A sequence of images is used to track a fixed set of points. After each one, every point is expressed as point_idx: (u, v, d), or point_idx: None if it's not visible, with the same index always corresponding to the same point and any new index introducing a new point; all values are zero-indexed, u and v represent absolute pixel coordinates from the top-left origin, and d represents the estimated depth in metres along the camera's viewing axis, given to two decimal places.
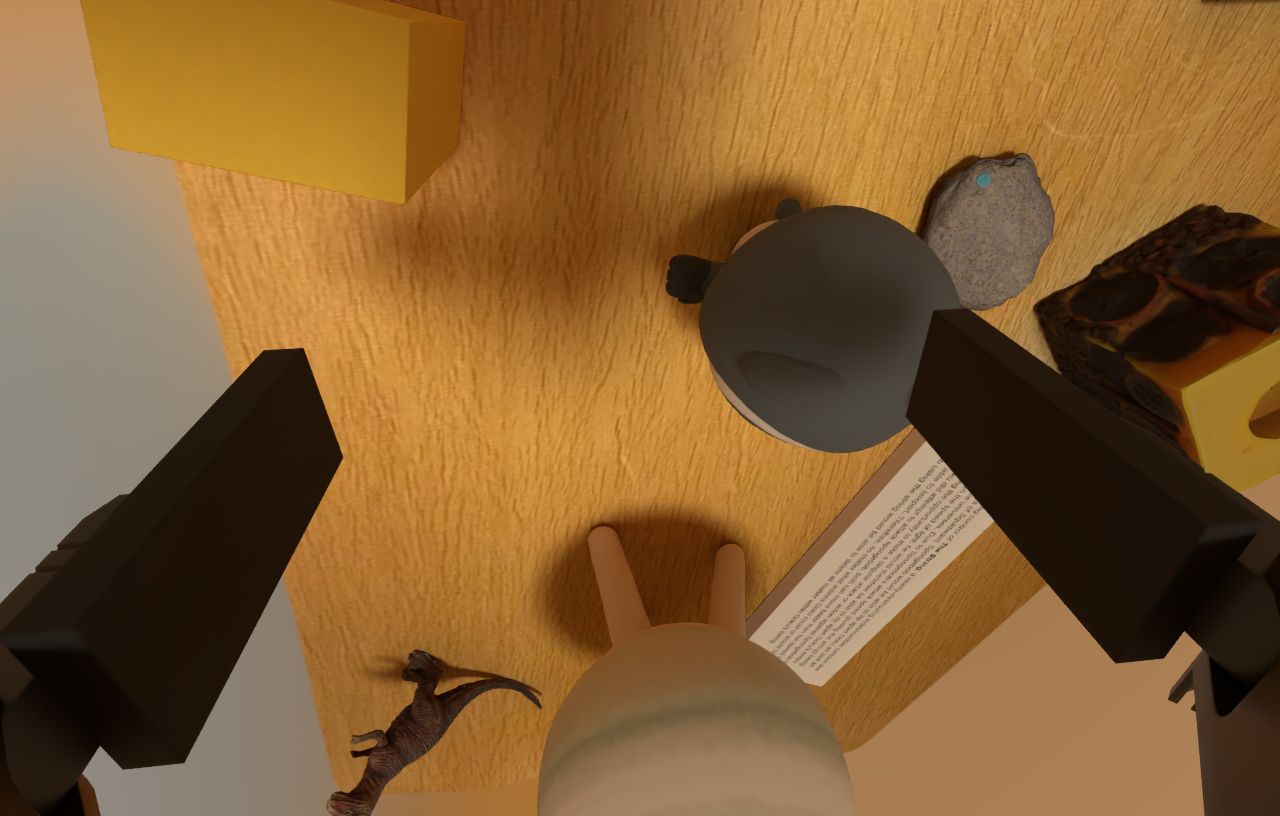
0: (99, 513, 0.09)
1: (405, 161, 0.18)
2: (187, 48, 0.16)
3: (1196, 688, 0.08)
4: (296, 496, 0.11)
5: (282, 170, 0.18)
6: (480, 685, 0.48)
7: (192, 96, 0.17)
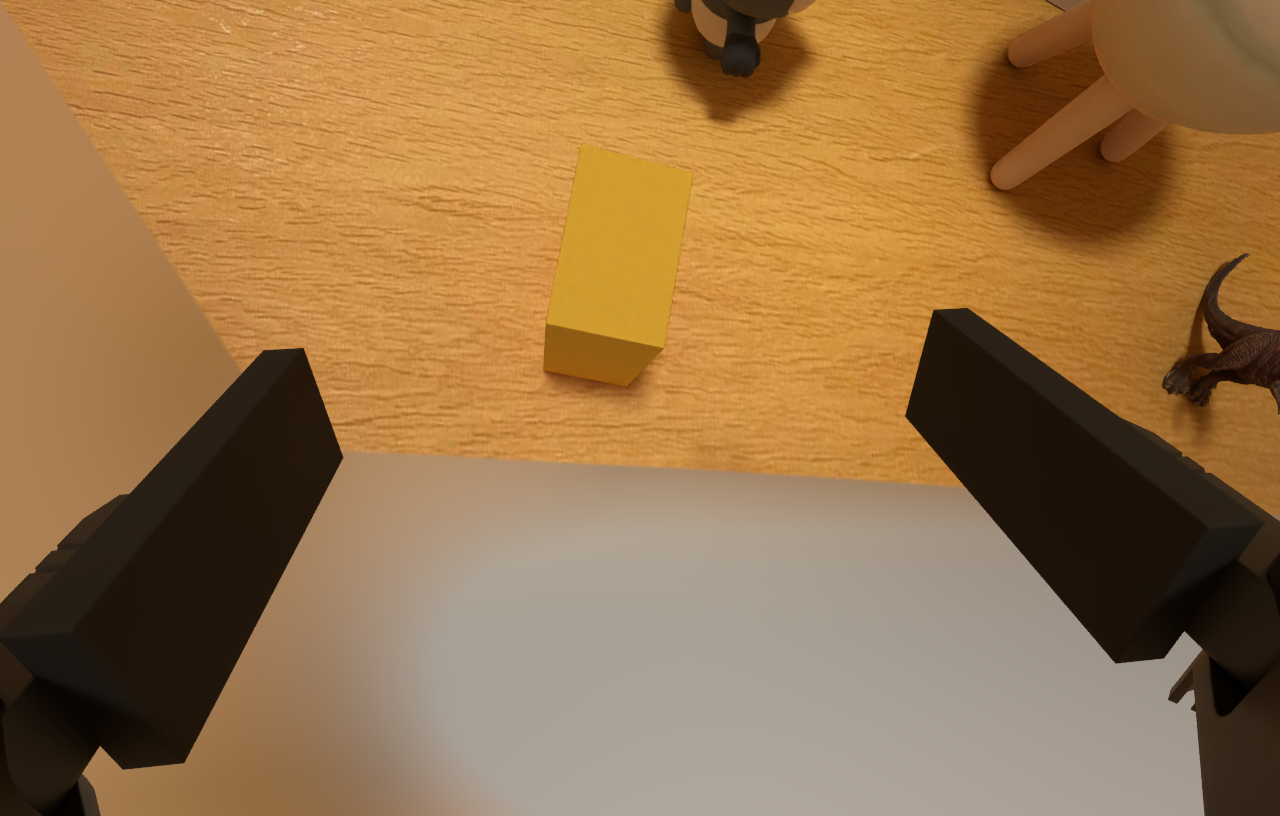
0: (99, 514, 0.09)
1: (664, 165, 0.26)
2: (603, 278, 0.25)
3: (1196, 688, 0.08)
4: (296, 496, 0.11)
5: (673, 244, 0.26)
6: (1211, 315, 0.42)
7: (630, 285, 0.25)
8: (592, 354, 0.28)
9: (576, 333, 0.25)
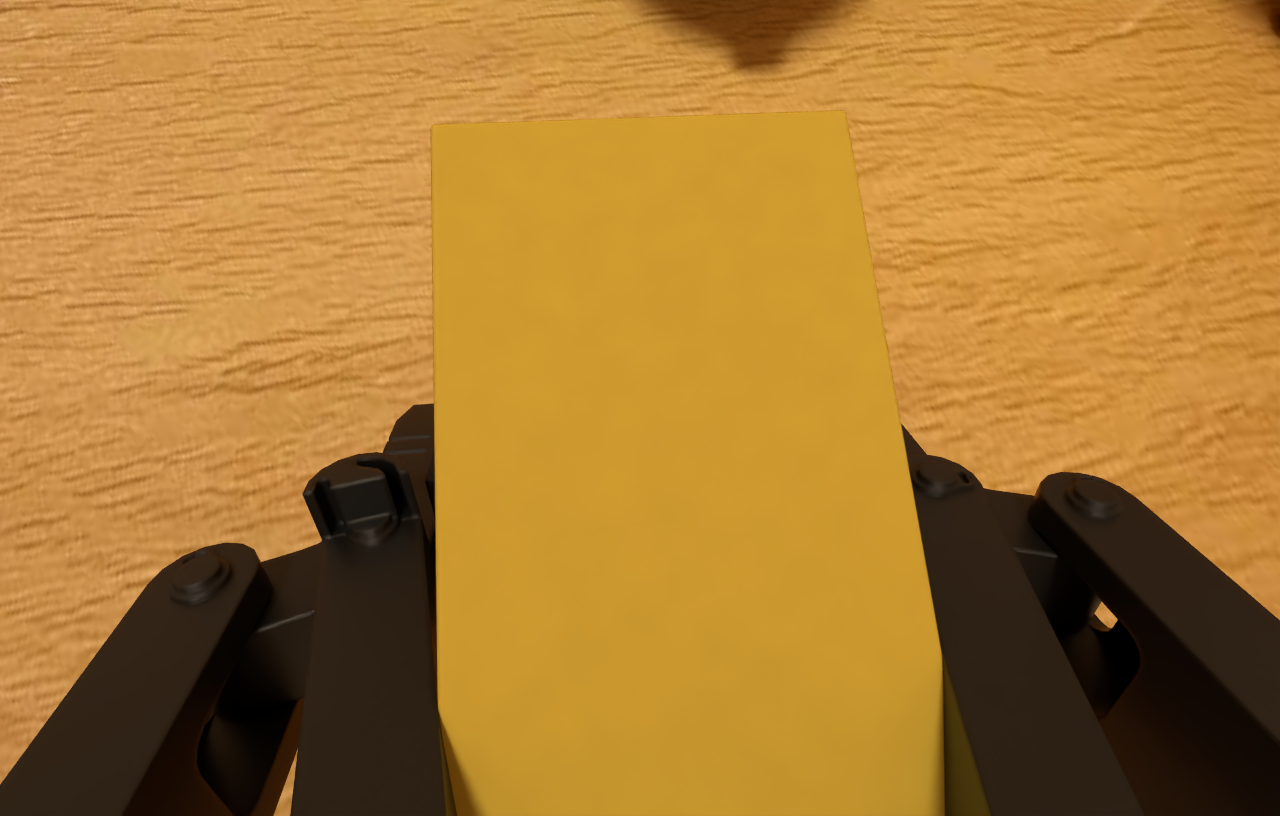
0: (407, 417, 0.11)
1: None
2: (636, 613, 0.06)
3: None
4: None
5: (866, 384, 0.07)
6: None
7: (754, 606, 0.06)
8: None
9: None
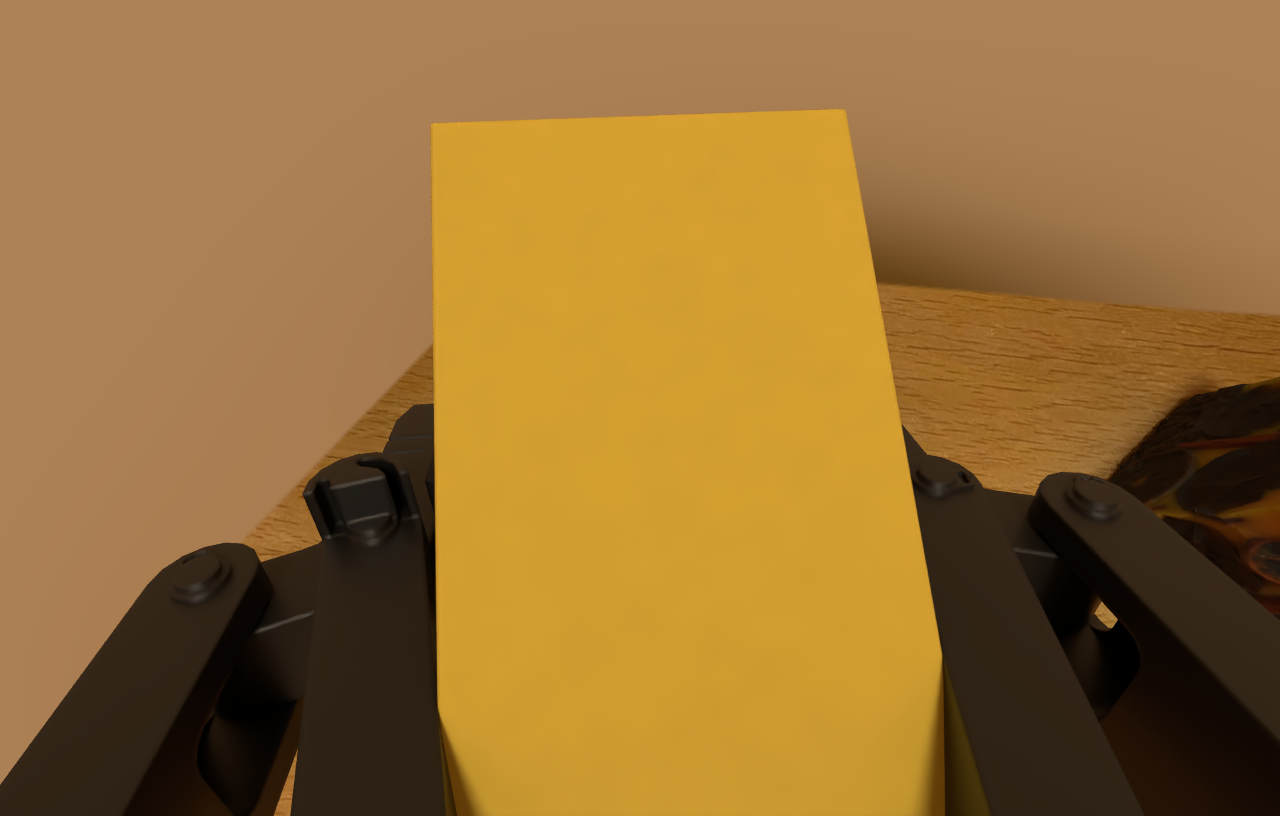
0: (408, 417, 0.11)
1: None
2: (636, 611, 0.06)
3: None
4: None
5: (866, 382, 0.07)
6: None
7: (754, 605, 0.06)
8: None
9: None
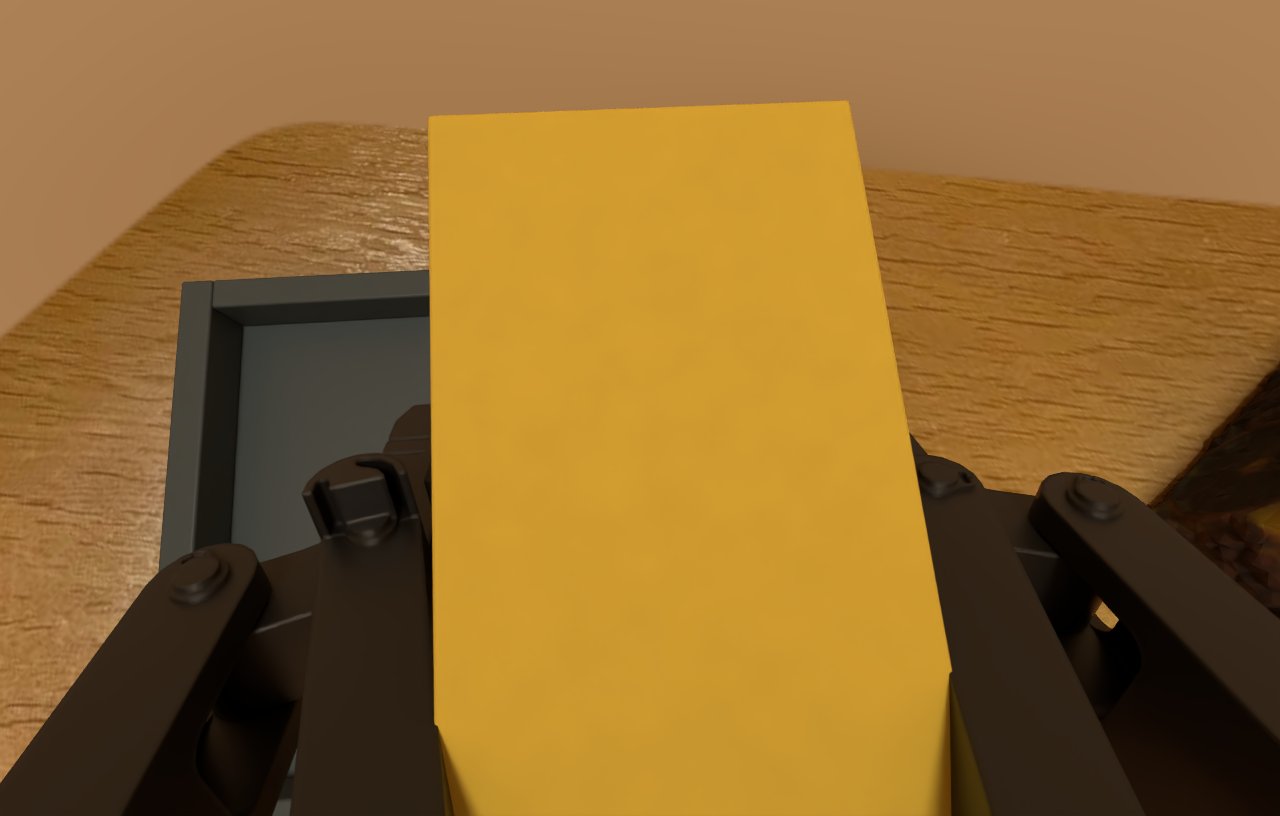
0: (407, 417, 0.11)
1: (741, 104, 0.07)
2: (636, 610, 0.06)
3: None
4: None
5: (870, 377, 0.06)
6: None
7: (756, 604, 0.06)
8: None
9: None
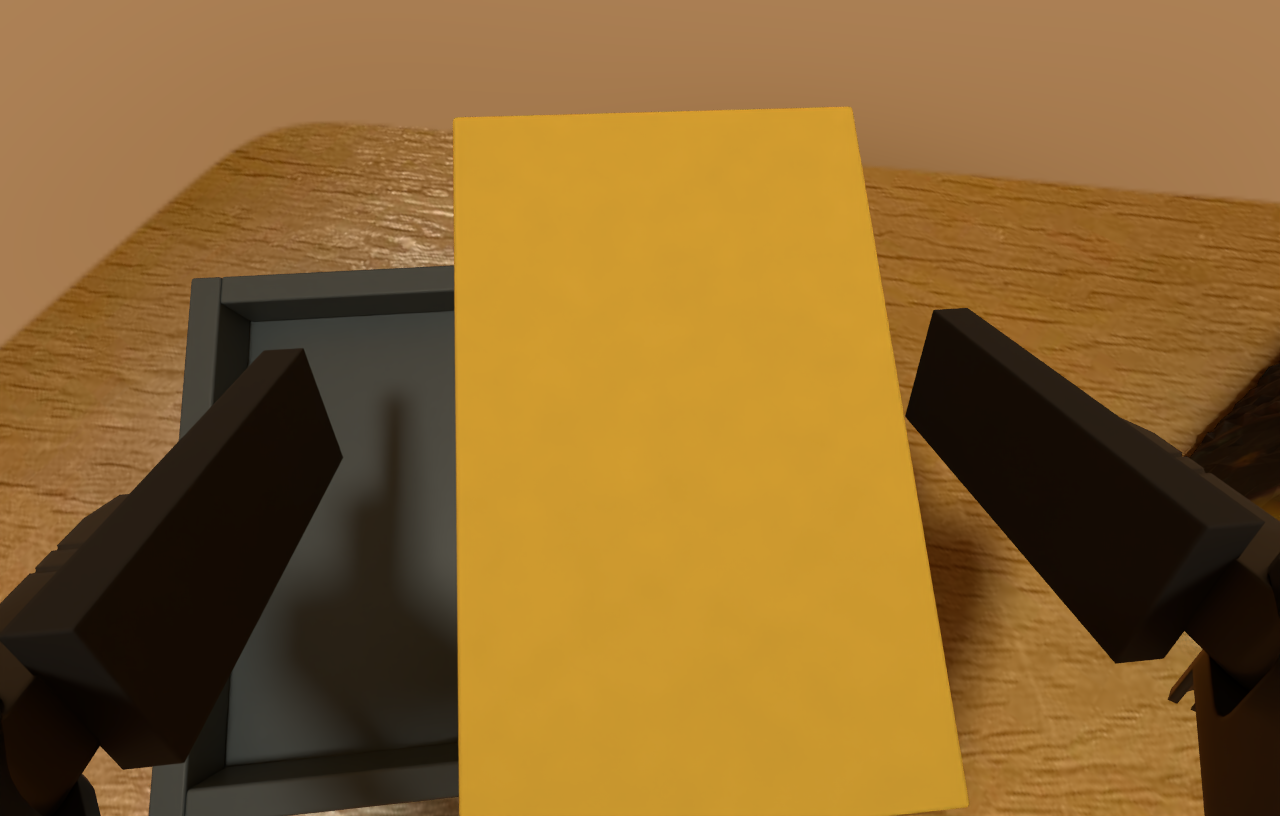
0: (99, 514, 0.09)
1: (750, 109, 0.07)
2: (648, 583, 0.06)
3: (1196, 688, 0.08)
4: (296, 496, 0.11)
5: (869, 369, 0.07)
6: None
7: (760, 578, 0.06)
8: None
9: None
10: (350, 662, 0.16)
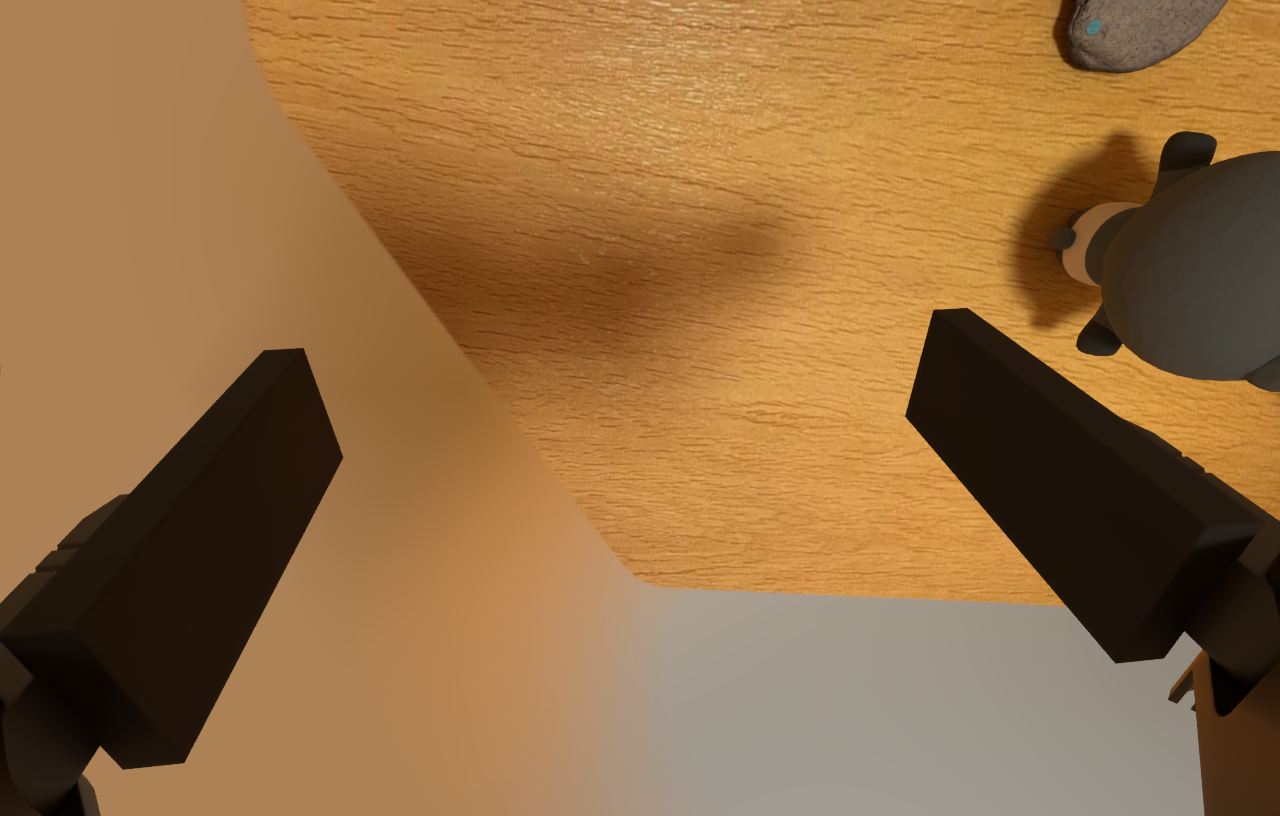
0: (99, 514, 0.09)
1: None
2: None
3: (1196, 688, 0.08)
4: (296, 496, 0.11)
5: None
6: None
7: None
8: None
9: None
10: None
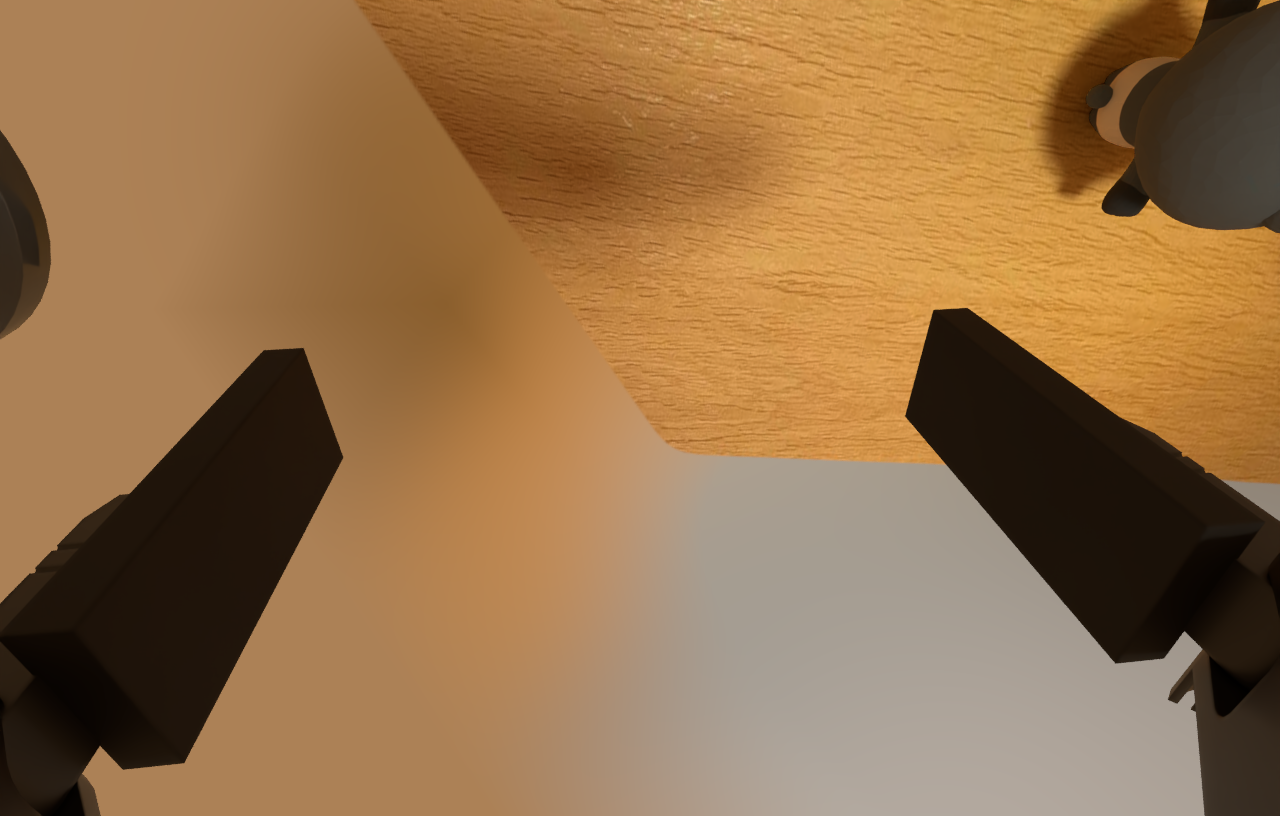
0: (99, 514, 0.09)
1: None
2: None
3: (1196, 688, 0.08)
4: (296, 496, 0.11)
5: None
6: None
7: None
8: None
9: None
10: None
